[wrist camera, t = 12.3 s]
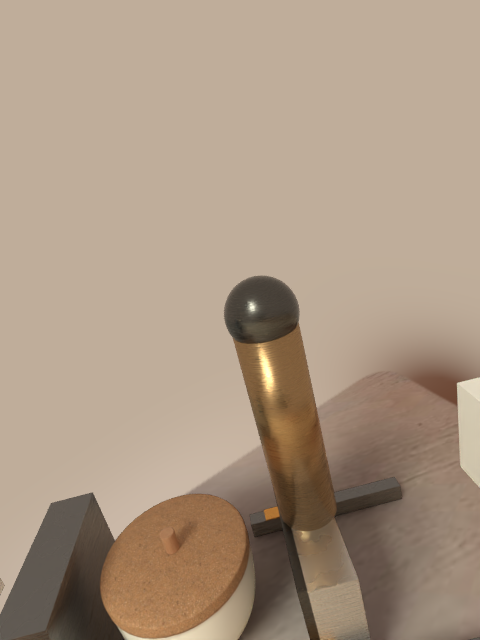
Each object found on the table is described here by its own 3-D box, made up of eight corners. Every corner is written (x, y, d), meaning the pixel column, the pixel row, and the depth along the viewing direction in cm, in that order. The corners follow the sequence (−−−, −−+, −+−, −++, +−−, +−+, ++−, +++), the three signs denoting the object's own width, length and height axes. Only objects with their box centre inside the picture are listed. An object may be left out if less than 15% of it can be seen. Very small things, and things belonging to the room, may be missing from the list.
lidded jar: (183, 548, 39) (152, 469, 36) (289, 576, 34) (265, 487, 31) (105, 672, 31) (56, 583, 28) (231, 735, 26) (189, 634, 22)
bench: (41, 792, 25) (-35, 690, 22) (100, 566, 40) (59, 484, 36) (508, 670, 25) (504, 549, 22) (396, 489, 40) (383, 400, 36)
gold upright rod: (320, 682, 27) (220, 322, 18) (284, 531, 38) (212, 265, 29) (386, 664, 27) (318, 297, 18) (331, 518, 38) (273, 250, 29)
